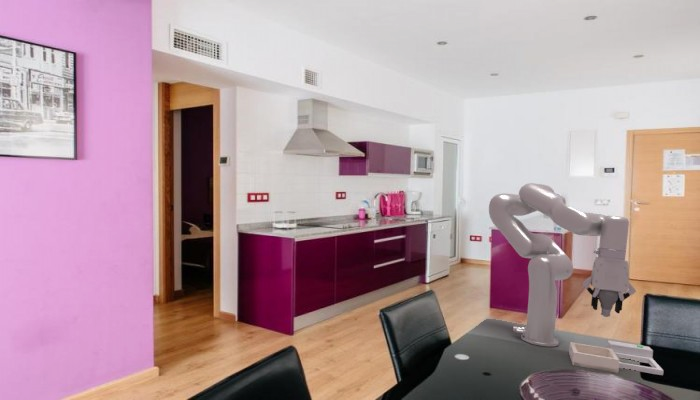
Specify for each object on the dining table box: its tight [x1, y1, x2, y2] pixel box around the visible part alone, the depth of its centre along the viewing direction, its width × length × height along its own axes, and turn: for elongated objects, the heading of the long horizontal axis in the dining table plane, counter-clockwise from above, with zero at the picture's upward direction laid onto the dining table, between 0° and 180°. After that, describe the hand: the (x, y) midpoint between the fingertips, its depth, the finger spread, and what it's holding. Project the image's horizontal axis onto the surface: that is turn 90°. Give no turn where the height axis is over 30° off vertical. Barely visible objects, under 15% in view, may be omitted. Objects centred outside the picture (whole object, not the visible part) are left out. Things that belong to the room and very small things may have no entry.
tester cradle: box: [606, 340, 664, 376], centre depth 150 cm, size 12×17×5 cm
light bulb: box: [597, 290, 619, 318], centre depth 147 cm, size 6×6×10 cm
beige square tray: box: [568, 341, 620, 374], centre depth 147 cm, size 12×12×4 cm
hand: (605, 310), depth 148 cm, fingers closed on light bulb, 5 cm apart
